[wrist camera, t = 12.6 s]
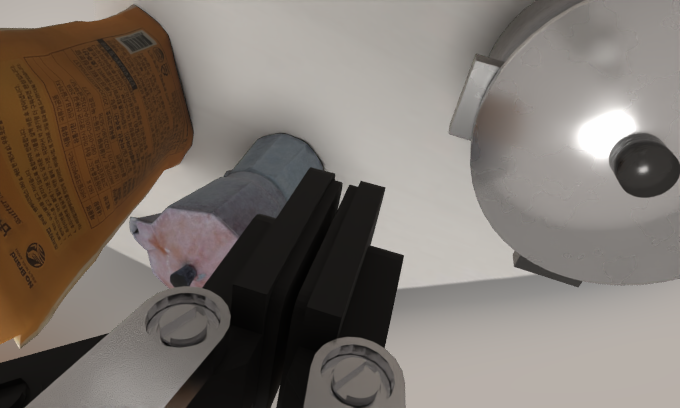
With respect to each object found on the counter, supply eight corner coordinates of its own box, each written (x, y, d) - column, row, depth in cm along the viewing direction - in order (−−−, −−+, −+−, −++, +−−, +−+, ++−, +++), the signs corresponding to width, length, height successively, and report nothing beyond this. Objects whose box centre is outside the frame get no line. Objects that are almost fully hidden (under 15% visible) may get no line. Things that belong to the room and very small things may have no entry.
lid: (432, 225, 36) (428, 252, 33) (545, -64, 26) (555, -63, 23) (739, 323, 34) (765, 362, 31) (995, 50, 24) (1071, 69, 21)
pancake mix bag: (172, -16, 44) (-179, 48, 20) (219, 173, 53) (12, 370, 29) (110, -9, 46) (-279, 57, 22) (165, 173, 55) (-70, 358, 31)
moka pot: (228, 104, 49) (97, 198, 32) (371, 159, 48) (315, 284, 31) (215, 182, 54) (96, 298, 37) (344, 233, 53) (282, 375, 36)
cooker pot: (521, -103, 35) (540, -116, 25) (806, -32, 33) (953, -14, 23) (423, 174, 47) (409, 241, 37) (626, 237, 45) (669, 326, 35)
